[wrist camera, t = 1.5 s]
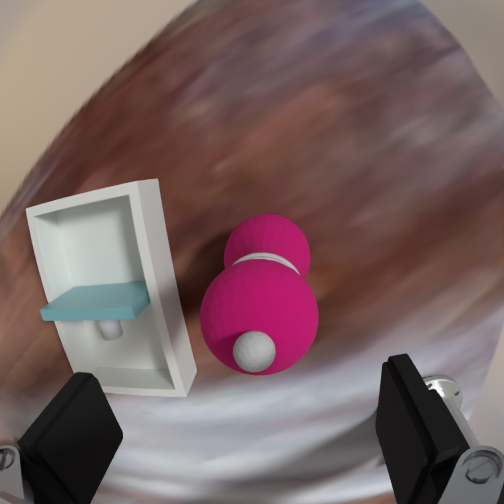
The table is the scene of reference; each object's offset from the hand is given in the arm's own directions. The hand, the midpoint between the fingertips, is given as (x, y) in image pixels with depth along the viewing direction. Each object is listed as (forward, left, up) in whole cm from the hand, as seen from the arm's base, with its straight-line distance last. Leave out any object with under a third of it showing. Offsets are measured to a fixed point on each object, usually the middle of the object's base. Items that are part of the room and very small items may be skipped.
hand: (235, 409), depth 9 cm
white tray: (-3, +17, -23) cm, 29 cm away
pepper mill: (0, 0, -23) cm, 23 cm away
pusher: (-5, +17, -22) cm, 28 cm away
